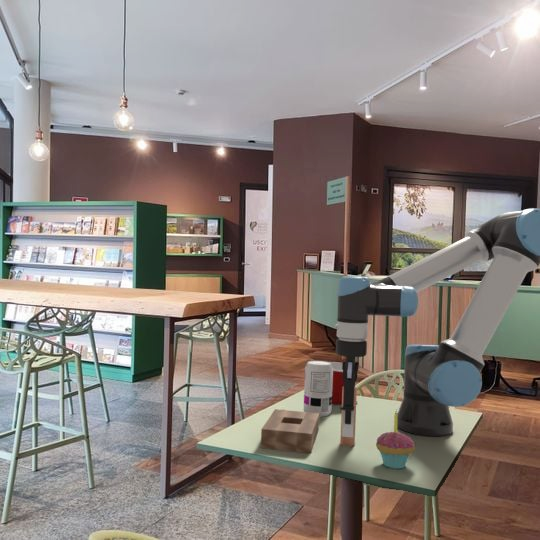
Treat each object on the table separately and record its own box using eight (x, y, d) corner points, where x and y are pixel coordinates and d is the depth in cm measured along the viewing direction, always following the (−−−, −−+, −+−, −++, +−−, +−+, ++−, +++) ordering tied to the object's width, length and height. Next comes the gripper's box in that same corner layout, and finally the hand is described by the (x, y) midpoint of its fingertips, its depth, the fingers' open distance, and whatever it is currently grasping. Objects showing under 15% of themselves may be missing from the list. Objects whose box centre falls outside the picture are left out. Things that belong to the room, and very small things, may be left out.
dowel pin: (354, 442, 135) (357, 386, 135) (354, 447, 132) (356, 389, 131) (340, 441, 136) (342, 385, 136) (339, 445, 132) (342, 388, 132)
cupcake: (373, 456, 126) (375, 405, 125) (411, 459, 125) (413, 407, 124) (377, 470, 117) (379, 415, 117) (417, 473, 116) (419, 418, 116)
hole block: (318, 430, 144) (319, 413, 144) (311, 453, 126) (311, 433, 126) (274, 425, 146) (274, 409, 146) (260, 447, 129) (261, 428, 128)
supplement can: (297, 413, 160) (299, 362, 159) (314, 408, 166) (316, 359, 166) (320, 419, 154) (322, 366, 154) (336, 413, 161) (338, 363, 160)
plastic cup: (341, 408, 166) (342, 369, 166) (313, 401, 174) (315, 364, 174) (361, 403, 174) (362, 365, 174) (334, 396, 182) (335, 360, 181)
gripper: (338, 333, 142) (334, 422, 143) (333, 342, 126) (329, 443, 126) (367, 335, 141) (363, 425, 141) (366, 344, 124) (362, 446, 125)
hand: (347, 433), depth 134 cm, fingers open, 4 cm apart
